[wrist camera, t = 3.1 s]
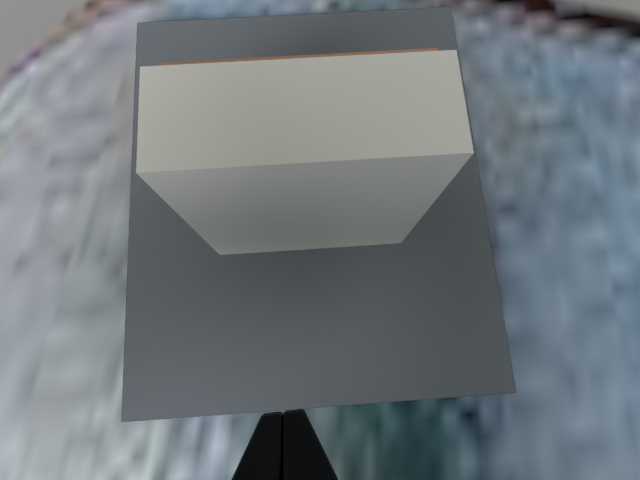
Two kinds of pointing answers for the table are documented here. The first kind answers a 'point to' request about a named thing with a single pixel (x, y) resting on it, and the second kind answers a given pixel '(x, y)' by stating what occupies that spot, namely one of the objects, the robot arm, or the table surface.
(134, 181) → the mat
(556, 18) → the table surface
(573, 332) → the table surface
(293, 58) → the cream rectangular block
